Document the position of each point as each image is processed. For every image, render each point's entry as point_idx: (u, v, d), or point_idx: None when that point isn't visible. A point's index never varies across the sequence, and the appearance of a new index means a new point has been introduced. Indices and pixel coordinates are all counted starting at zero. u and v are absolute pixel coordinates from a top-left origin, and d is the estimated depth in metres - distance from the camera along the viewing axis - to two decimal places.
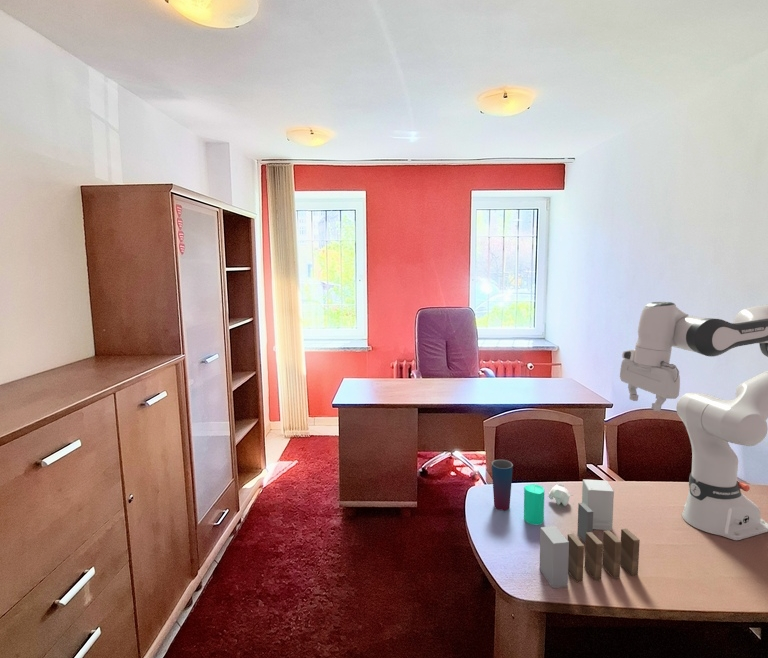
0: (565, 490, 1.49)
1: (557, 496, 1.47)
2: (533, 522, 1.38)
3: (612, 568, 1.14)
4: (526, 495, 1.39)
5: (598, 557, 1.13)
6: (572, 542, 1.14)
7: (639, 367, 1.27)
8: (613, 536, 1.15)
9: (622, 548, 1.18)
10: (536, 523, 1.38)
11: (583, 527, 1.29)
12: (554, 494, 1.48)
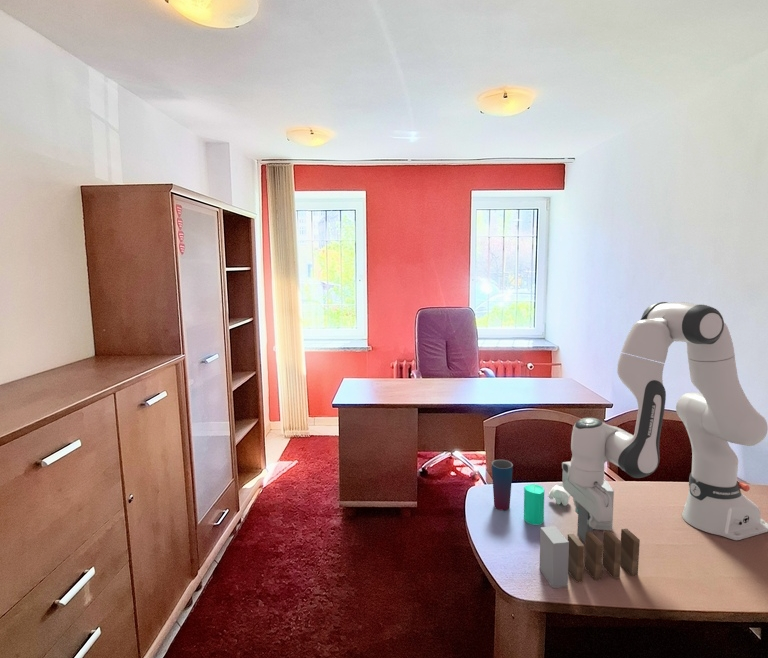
0: (565, 490, 1.49)
1: (557, 496, 1.47)
2: (533, 522, 1.38)
3: (612, 568, 1.14)
4: (526, 495, 1.39)
5: (598, 557, 1.13)
6: (572, 542, 1.14)
7: (575, 484, 1.28)
8: (613, 536, 1.15)
9: (622, 548, 1.18)
10: (536, 523, 1.38)
11: (583, 527, 1.29)
12: (554, 494, 1.48)
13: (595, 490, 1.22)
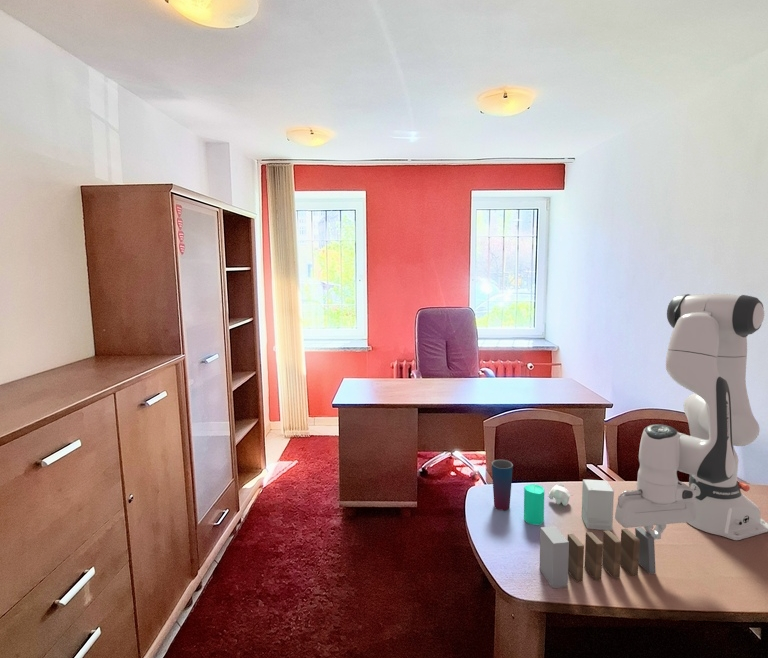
0: (565, 490, 1.49)
1: (557, 496, 1.47)
2: (533, 522, 1.38)
3: (612, 568, 1.14)
4: (526, 495, 1.39)
5: (598, 557, 1.13)
6: (572, 542, 1.14)
7: None
8: (613, 536, 1.15)
9: (622, 548, 1.18)
10: (536, 523, 1.38)
11: (643, 555, 1.16)
12: (554, 494, 1.48)
13: None
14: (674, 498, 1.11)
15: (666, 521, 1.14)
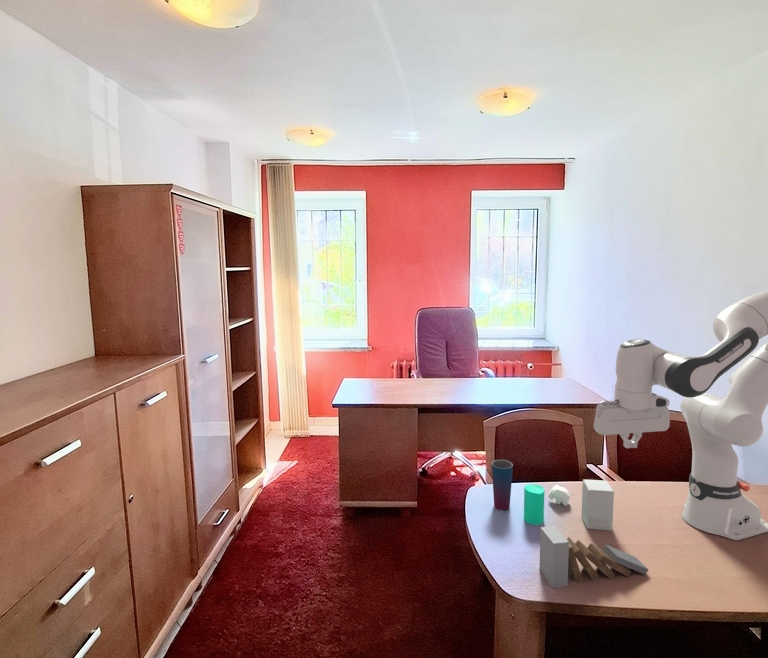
0: (565, 490, 1.49)
1: (557, 496, 1.47)
2: (533, 522, 1.38)
3: (603, 572, 1.14)
4: (526, 495, 1.39)
5: (583, 561, 1.12)
6: None
7: None
8: (582, 547, 1.14)
9: None
10: (536, 523, 1.38)
11: None
12: (554, 494, 1.48)
13: None
14: (648, 405, 1.18)
15: (641, 429, 1.21)
